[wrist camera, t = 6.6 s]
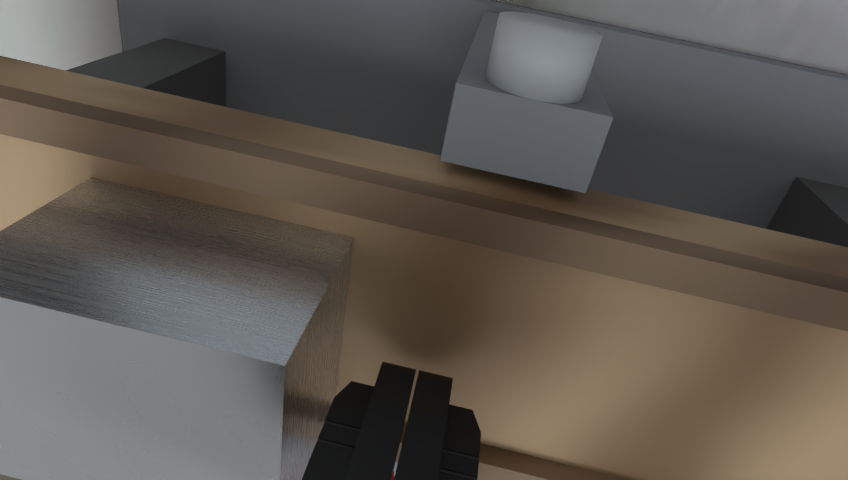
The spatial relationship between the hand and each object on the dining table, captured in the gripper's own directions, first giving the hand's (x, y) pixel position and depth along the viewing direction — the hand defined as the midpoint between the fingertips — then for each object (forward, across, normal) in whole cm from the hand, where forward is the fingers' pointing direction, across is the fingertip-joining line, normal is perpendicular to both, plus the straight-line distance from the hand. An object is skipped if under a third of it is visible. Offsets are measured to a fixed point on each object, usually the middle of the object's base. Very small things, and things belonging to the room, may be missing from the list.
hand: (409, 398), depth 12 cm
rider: (+2, +5, 0) cm, 5 cm away
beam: (+3, -1, 0) cm, 3 cm away
